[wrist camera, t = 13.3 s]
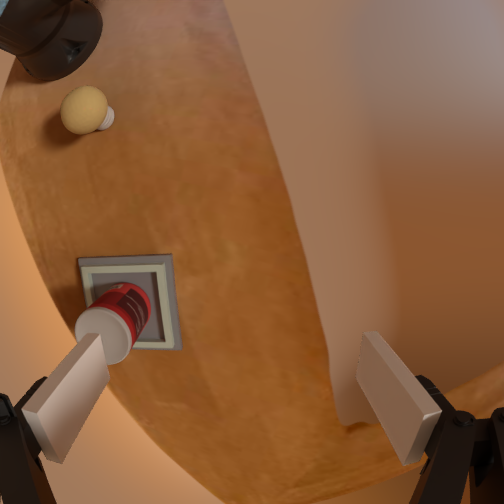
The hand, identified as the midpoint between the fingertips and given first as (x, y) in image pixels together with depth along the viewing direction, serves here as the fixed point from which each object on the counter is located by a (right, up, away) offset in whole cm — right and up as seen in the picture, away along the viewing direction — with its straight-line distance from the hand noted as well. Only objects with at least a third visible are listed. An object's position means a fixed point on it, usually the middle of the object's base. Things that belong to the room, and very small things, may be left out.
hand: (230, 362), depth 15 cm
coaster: (-17, -3, +32) cm, 36 cm away
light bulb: (-20, +25, +26) cm, 41 cm away
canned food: (-17, -3, +31) cm, 36 cm away
